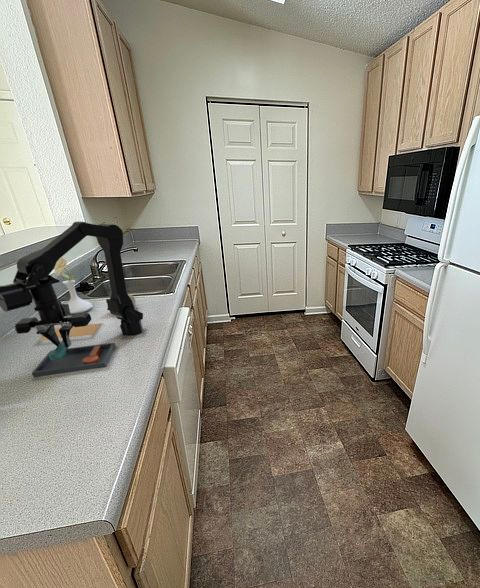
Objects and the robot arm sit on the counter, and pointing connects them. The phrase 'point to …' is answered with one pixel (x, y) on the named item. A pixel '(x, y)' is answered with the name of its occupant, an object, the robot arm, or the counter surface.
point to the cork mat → (78, 331)
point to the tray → (74, 361)
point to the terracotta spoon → (93, 356)
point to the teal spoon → (59, 351)
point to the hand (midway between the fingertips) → (64, 347)
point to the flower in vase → (71, 289)
